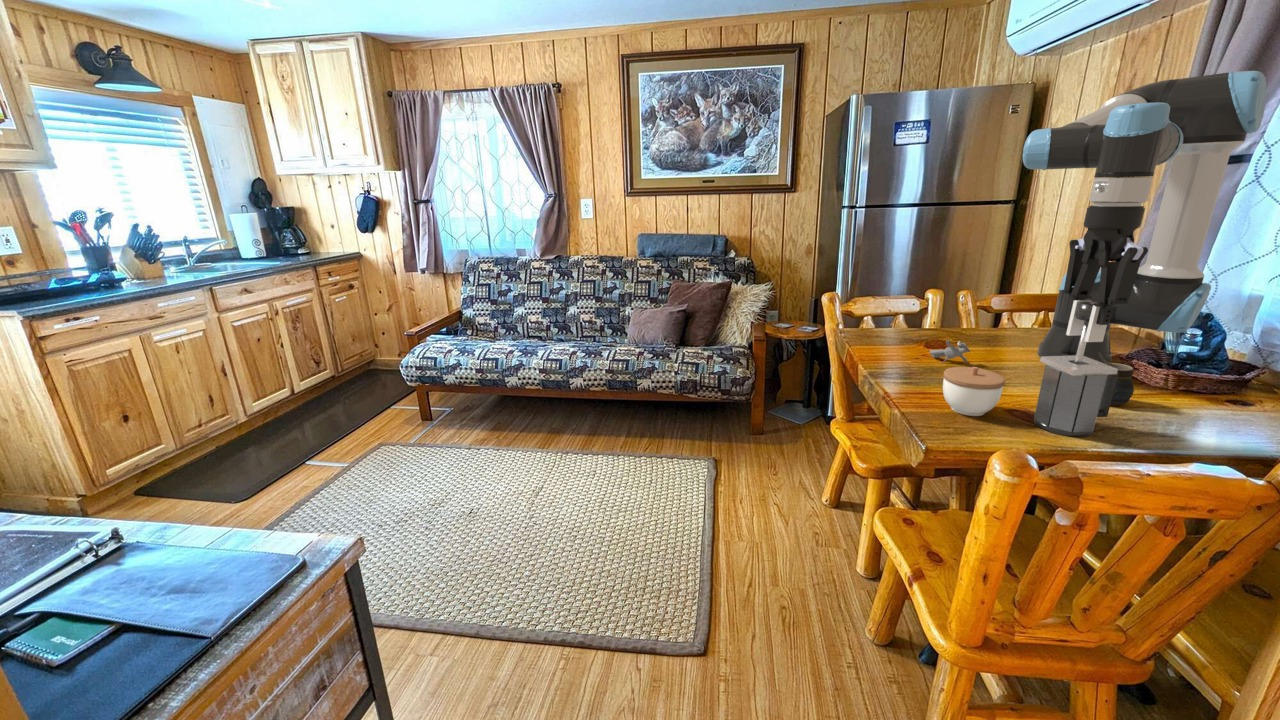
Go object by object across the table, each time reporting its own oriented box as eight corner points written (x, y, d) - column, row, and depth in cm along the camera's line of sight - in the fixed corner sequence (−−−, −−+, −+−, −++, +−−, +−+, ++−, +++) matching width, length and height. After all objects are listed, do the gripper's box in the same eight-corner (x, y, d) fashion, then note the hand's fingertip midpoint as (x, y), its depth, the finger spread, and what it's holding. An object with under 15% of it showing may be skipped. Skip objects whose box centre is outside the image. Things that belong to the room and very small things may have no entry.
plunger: (1072, 392, 105) (1094, 300, 100) (1096, 403, 100) (1121, 306, 94) (1043, 393, 105) (1064, 300, 100) (1066, 404, 100) (1089, 307, 94)
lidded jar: (927, 401, 117) (934, 360, 115) (974, 399, 118) (982, 358, 115) (959, 422, 107) (967, 377, 104) (1010, 419, 108) (1020, 375, 105)
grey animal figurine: (944, 354, 148) (978, 350, 140) (939, 373, 146) (974, 370, 138) (923, 335, 144) (958, 330, 136) (918, 354, 142) (953, 350, 134)
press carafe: (1082, 415, 109) (1098, 353, 105) (1122, 435, 100) (1141, 369, 96) (1022, 417, 109) (1035, 355, 105) (1057, 438, 100) (1073, 371, 96)
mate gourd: (1119, 411, 110) (1131, 364, 107) (1077, 399, 117) (1087, 355, 114) (1137, 404, 114) (1149, 358, 111) (1094, 393, 120) (1105, 349, 117)
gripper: (1057, 203, 99) (1031, 327, 107) (1138, 207, 84) (1101, 352, 91) (1097, 202, 100) (1068, 325, 107) (1186, 206, 84) (1145, 351, 91)
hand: (1083, 337), depth 99 cm, fingers closed on plunger, 4 cm apart
